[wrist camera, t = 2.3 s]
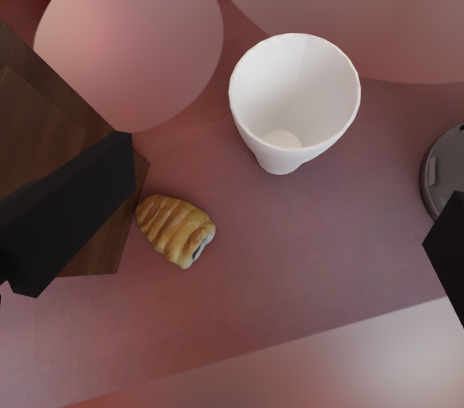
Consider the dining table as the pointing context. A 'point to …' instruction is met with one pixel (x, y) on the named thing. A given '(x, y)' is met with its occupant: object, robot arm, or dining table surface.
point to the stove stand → (55, 143)
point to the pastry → (175, 228)
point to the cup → (293, 99)
